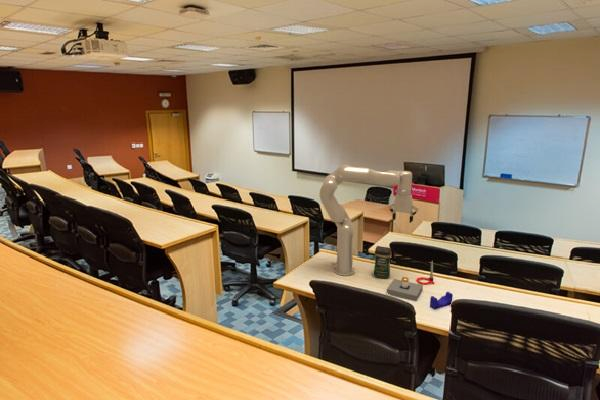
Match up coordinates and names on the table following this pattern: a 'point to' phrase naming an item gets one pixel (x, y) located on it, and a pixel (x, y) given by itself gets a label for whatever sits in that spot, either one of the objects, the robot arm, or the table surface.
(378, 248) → the coffee jar
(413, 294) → the hitch plate
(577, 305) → the table surface
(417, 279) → the tow hook
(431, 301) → the cable clip
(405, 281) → the orange and cream cylinder
